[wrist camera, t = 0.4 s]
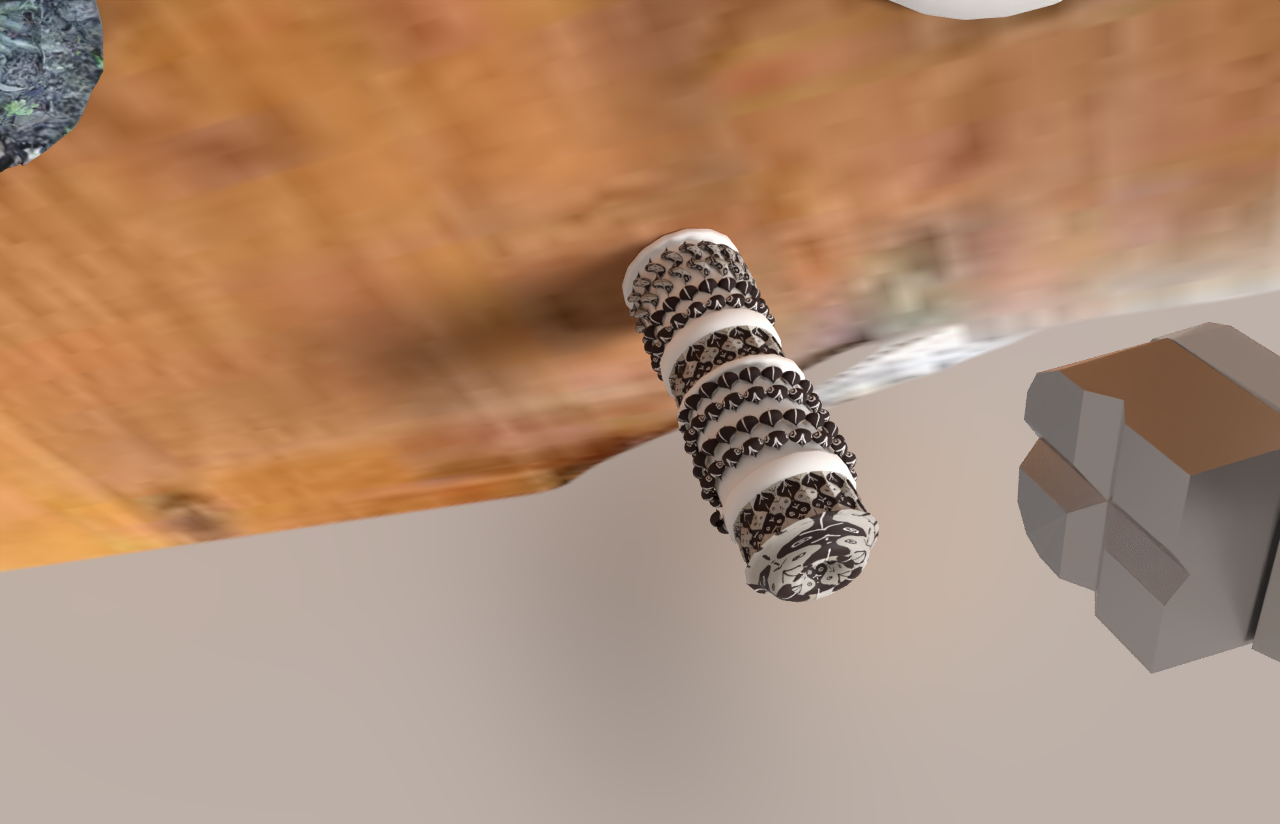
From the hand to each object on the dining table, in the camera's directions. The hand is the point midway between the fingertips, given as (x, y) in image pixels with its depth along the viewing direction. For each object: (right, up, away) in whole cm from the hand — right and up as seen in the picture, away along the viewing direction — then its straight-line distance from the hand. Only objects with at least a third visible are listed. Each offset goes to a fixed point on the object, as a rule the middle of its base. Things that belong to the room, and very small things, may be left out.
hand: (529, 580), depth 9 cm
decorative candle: (+4, +11, +74) cm, 74 cm away
